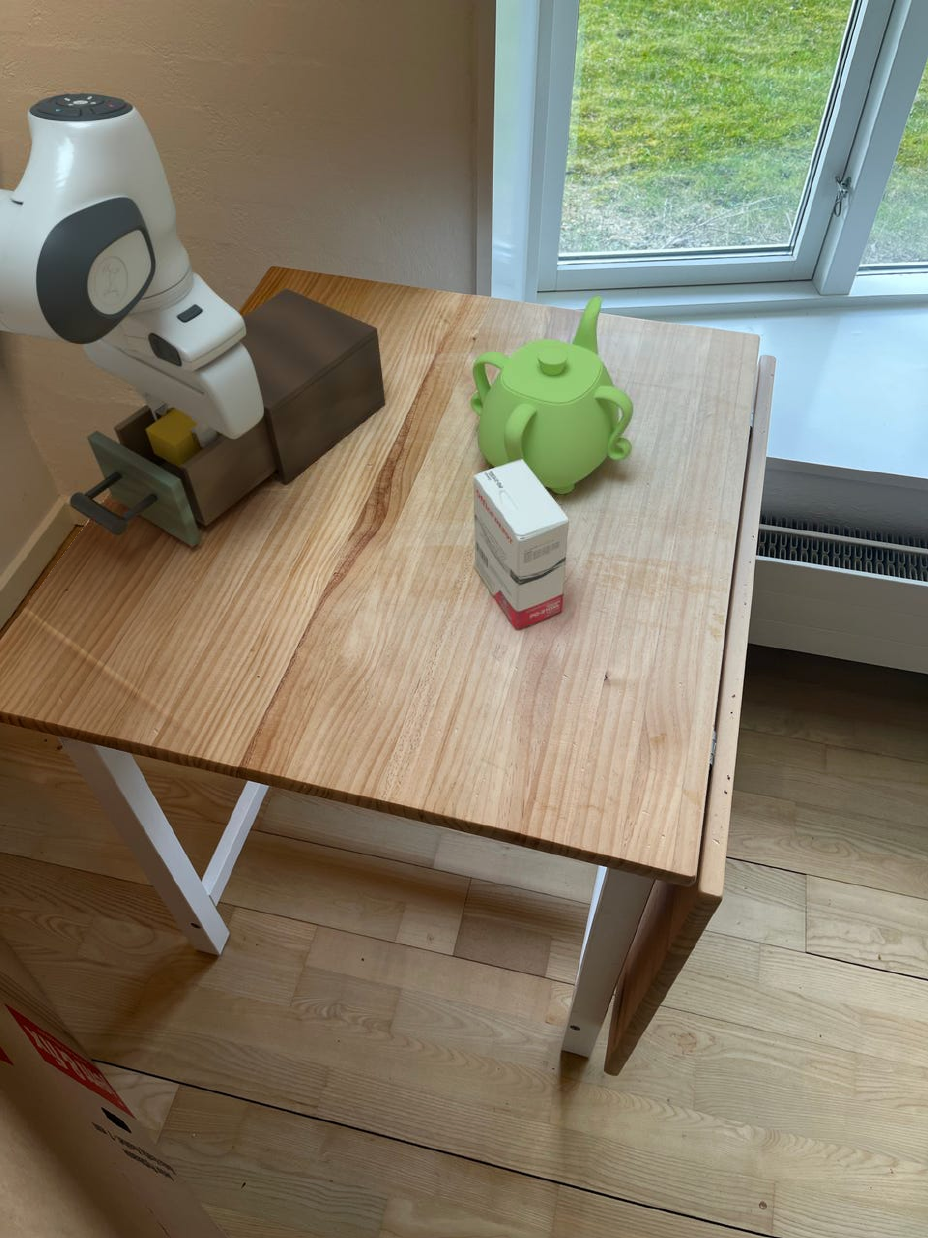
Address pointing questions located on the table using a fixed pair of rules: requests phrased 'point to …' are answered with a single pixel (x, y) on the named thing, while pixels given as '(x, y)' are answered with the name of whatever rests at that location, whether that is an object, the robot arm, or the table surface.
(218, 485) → the drawer
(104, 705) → the table surface
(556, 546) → the ink box
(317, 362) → the cabinet
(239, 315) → the robot arm
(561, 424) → the teapot
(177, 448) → the sponge
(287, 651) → the table surface
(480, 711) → the table surface
